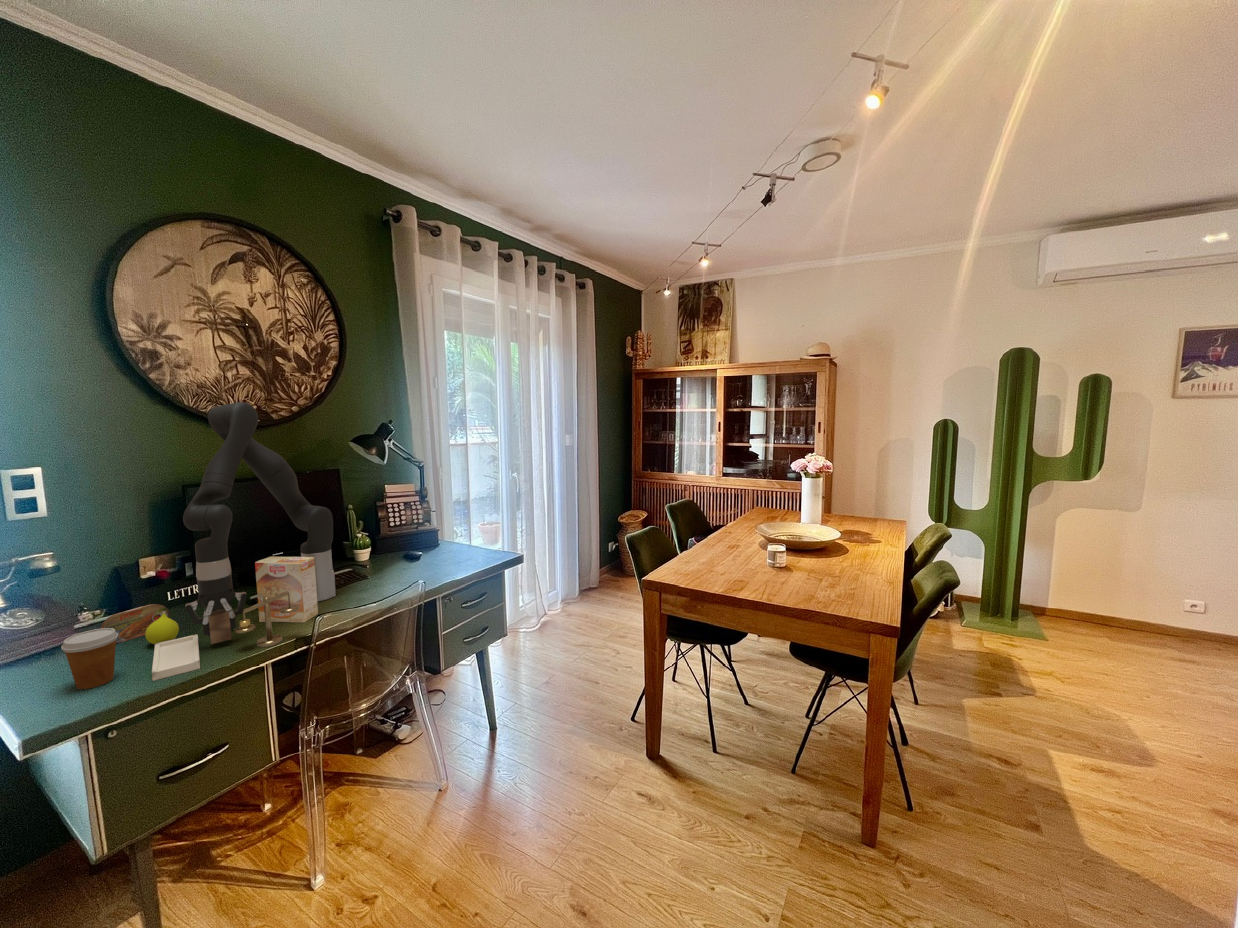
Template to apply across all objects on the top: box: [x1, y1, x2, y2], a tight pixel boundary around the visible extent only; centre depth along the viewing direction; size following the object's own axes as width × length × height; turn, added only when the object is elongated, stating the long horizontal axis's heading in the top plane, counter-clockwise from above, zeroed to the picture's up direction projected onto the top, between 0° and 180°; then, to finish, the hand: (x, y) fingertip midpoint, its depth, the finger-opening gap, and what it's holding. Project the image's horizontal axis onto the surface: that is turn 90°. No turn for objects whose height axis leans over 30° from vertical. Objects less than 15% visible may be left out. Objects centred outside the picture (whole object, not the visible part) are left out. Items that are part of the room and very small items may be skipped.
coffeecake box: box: [254, 555, 319, 623], centre depth 158 cm, size 15×7×20 cm, turn 87°
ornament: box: [144, 611, 180, 645], centre depth 141 cm, size 7×7×10 cm
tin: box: [100, 603, 171, 644], centre depth 147 cm, size 15×3×8 cm, turn 153°
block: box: [208, 609, 232, 645], centre depth 141 cm, size 4×4×8 cm
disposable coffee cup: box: [60, 628, 118, 690], centre depth 121 cm, size 10×10×12 cm
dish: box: [151, 633, 201, 682], centre depth 133 cm, size 9×21×2 cm, turn 41°
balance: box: [234, 591, 299, 649], centre depth 141 cm, size 15×6×14 cm, turn 131°
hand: (220, 632), depth 141 cm, fingers closed on block, 4 cm apart
